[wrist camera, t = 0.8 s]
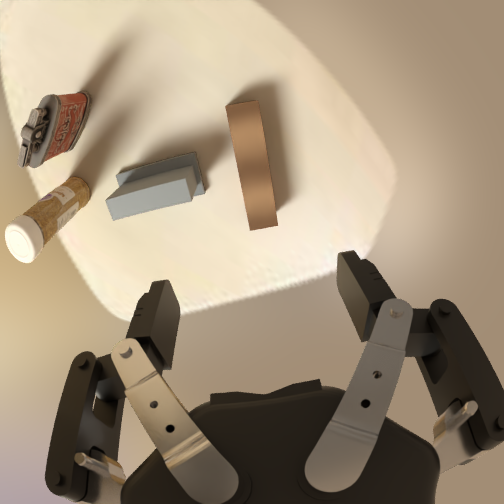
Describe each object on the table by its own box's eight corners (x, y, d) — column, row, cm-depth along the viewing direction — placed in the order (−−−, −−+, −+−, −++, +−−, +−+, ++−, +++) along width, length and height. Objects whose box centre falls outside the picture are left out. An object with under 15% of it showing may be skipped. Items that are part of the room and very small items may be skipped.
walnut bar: (226, 105, 26) (225, 106, 23) (255, 100, 26) (258, 100, 23) (248, 217, 34) (250, 230, 31) (273, 212, 34) (278, 225, 31)
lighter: (77, 87, 22) (26, 93, 14) (97, 96, 24) (48, 102, 15) (55, 145, 26) (7, 168, 17) (73, 154, 27) (27, 181, 18)
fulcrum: (118, 173, 29) (97, 190, 24) (195, 151, 29) (187, 164, 24) (130, 209, 32) (113, 232, 27) (205, 191, 31) (199, 212, 26)
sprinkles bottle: (81, 170, 28) (17, 216, 17) (96, 199, 30) (41, 256, 19) (59, 185, 29) (-3, 234, 17) (73, 213, 31) (20, 270, 20)
